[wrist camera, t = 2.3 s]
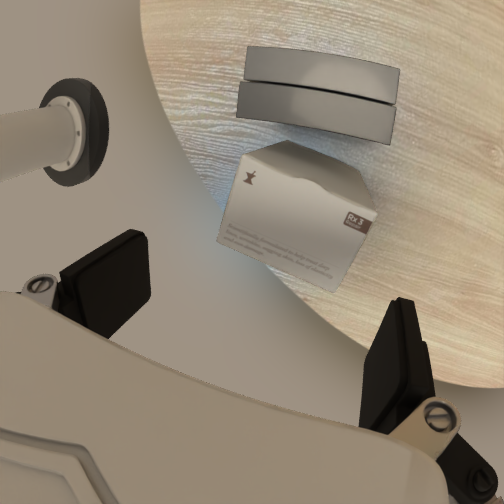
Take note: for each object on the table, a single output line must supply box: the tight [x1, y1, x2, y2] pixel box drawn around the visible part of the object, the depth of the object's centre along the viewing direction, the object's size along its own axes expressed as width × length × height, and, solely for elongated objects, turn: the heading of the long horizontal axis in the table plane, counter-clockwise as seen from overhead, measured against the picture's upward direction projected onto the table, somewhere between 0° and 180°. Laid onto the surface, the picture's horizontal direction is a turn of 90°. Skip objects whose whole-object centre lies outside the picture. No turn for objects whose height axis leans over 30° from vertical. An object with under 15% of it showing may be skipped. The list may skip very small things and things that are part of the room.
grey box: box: [236, 46, 400, 145], centre depth 21 cm, size 10×5×11 cm, turn 83°
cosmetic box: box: [217, 140, 378, 293], centre depth 23 cm, size 8×6×15 cm
